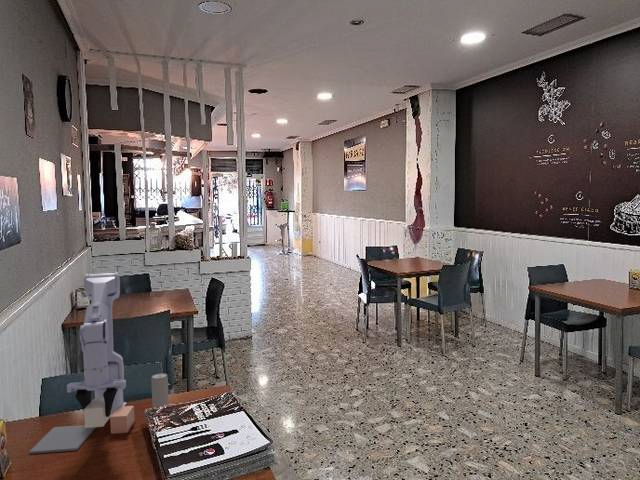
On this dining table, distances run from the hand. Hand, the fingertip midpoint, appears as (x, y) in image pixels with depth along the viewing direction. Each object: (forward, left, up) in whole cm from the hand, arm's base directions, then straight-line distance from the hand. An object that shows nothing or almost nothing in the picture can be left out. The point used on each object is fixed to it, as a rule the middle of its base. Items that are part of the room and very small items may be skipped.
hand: (98, 416), depth 124 cm
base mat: (-5, -11, -8) cm, 15 cm away
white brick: (0, 0, -2) cm, 2 cm away
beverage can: (-18, +12, -8) cm, 23 cm away
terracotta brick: (-10, +3, -8) cm, 13 cm away
